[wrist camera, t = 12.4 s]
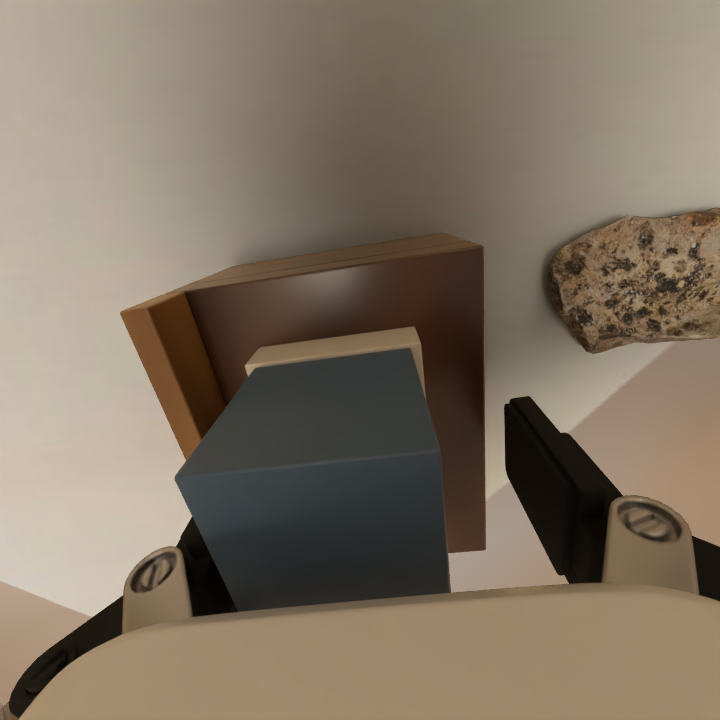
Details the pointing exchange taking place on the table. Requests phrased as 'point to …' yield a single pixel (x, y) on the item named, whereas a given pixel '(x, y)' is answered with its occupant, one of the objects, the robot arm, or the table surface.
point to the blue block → (324, 476)
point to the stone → (641, 281)
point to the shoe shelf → (326, 320)
